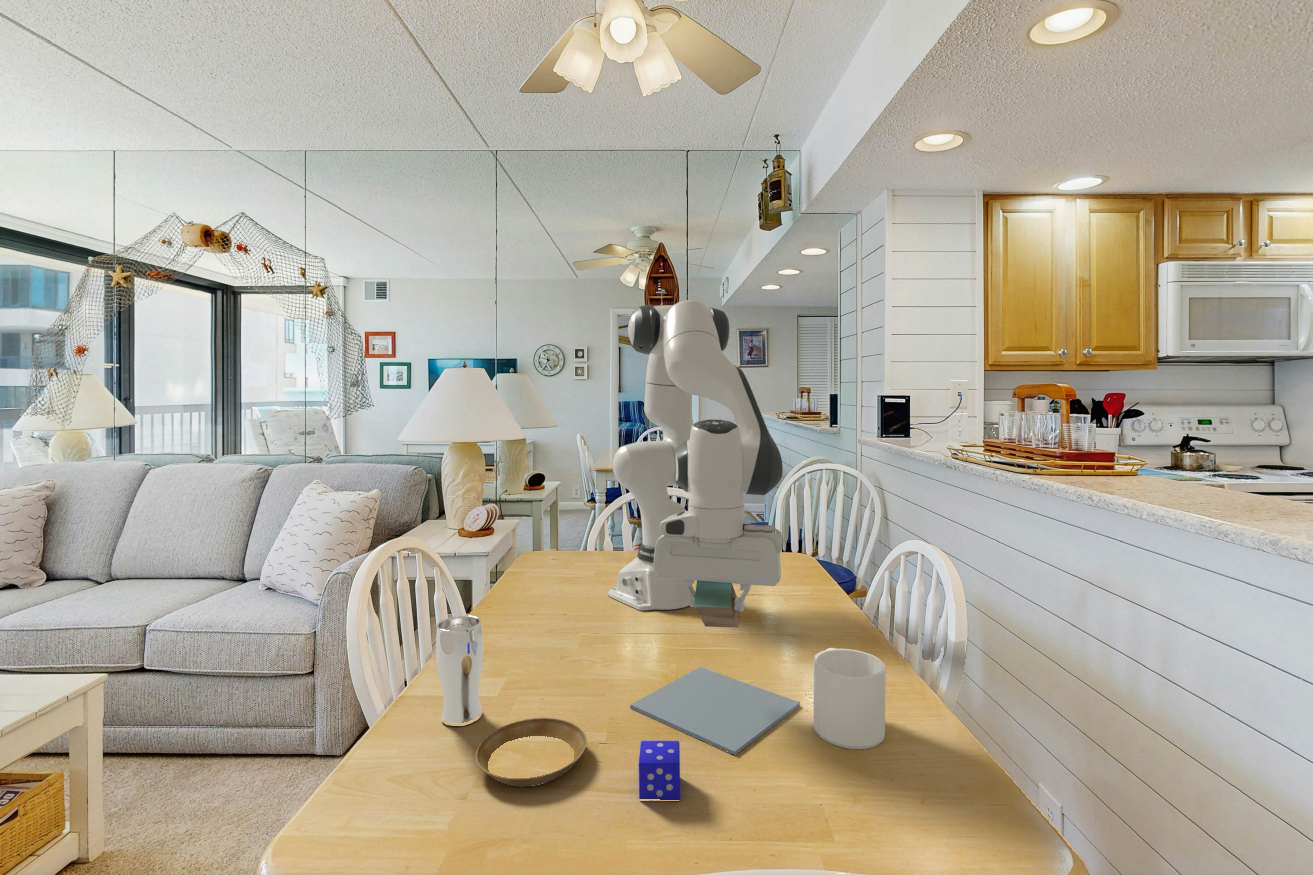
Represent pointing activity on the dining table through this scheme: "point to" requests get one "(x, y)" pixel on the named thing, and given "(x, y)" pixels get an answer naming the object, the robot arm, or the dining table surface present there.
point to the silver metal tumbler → (460, 667)
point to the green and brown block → (716, 604)
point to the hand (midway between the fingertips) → (716, 608)
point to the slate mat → (716, 709)
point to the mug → (849, 698)
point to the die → (659, 770)
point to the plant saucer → (529, 728)
